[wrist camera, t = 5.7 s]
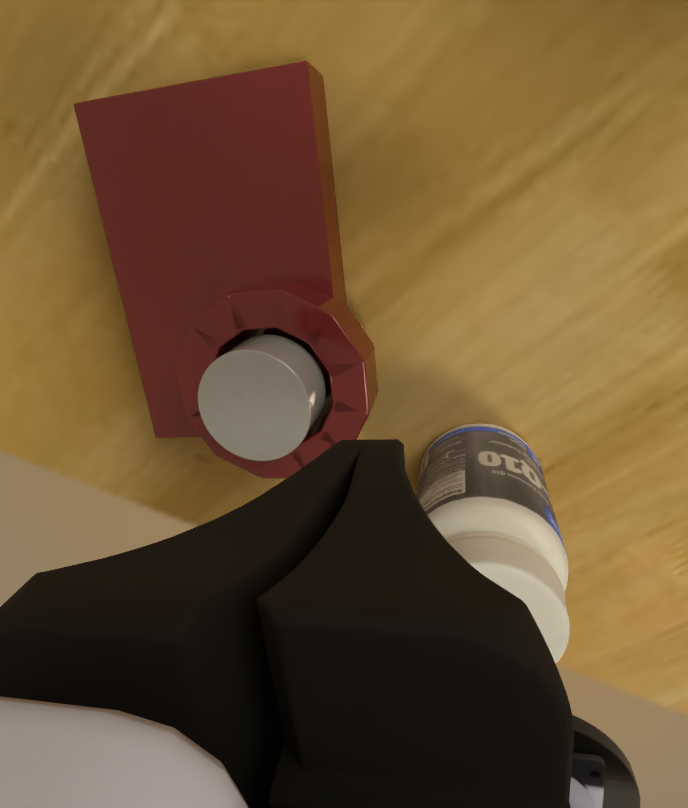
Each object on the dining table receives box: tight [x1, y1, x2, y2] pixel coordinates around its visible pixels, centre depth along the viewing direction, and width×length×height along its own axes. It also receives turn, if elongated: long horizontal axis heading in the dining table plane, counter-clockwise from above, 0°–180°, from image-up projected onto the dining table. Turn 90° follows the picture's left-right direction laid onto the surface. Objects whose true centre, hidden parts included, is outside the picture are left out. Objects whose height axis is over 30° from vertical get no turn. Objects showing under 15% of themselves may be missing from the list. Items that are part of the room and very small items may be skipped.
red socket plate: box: [74, 61, 378, 478], centre depth 18 cm, size 13×9×4 cm
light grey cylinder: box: [198, 335, 326, 461], centre depth 17 cm, size 4×4×2 cm
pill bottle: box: [416, 423, 570, 664], centre depth 17 cm, size 5×5×8 cm
